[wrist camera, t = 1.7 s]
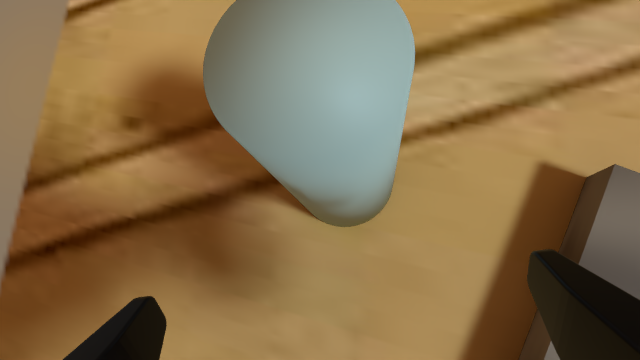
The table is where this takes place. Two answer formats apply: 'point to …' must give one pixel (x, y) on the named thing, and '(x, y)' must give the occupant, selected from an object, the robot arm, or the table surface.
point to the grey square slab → (599, 242)
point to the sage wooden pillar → (316, 96)
